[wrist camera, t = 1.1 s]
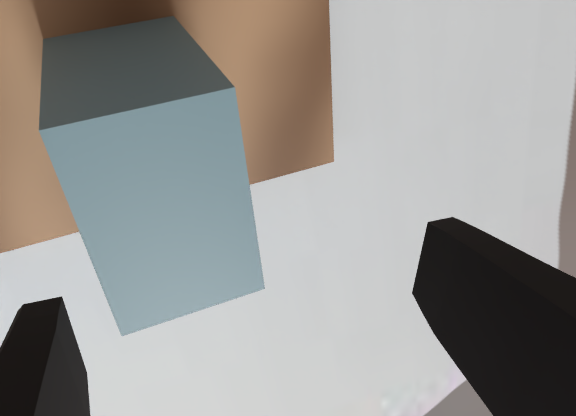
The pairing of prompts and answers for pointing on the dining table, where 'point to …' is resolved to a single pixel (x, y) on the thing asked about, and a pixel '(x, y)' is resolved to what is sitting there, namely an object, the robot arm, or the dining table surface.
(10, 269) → the dining table surface
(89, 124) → the carton
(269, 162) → the price rail shelf
